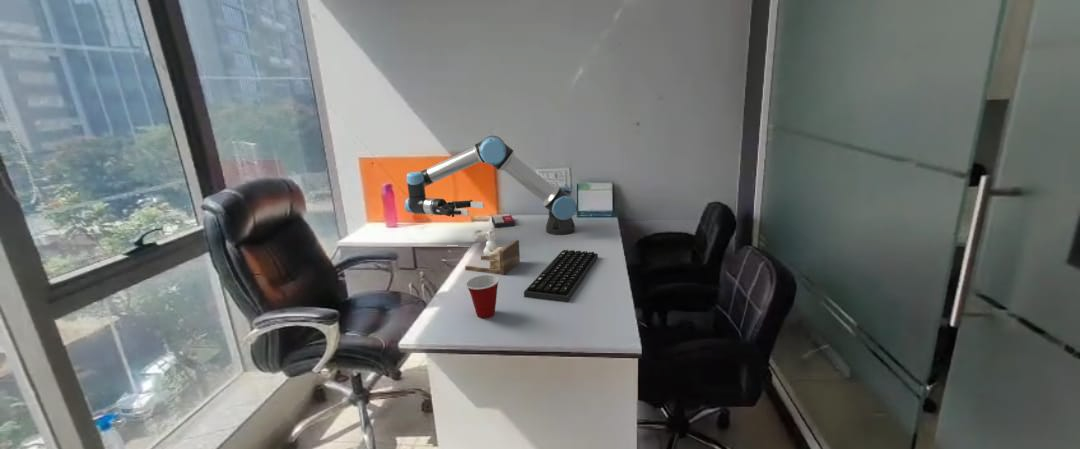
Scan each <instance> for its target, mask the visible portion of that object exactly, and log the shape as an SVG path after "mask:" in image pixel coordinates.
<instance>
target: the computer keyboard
mask: <svg viewBox="0 0 1080 449" xmlns="http://www.w3.org/2000/svg"><path fill="white" fill-rule="evenodd" d="M598 258H599V254H598V253H597V252H596V253H595V252H594V251H589V252H588V251H587V250H583V251H582V250H575V249H574V250H573V249H571V250H569V249H563V250H562V251H561V252H560V253H558V254H557V255H556V257H555V258H554V259H553V260H552V261H551V262H550V263H549V264H548V265H547V267H546V268H545V269H544V270H542V272H541V273H540V274H539V275H538V276H537V277H536V278H535V279H534V280H533V282H531V283H530V284H529V286H528V287H527V288H526V289H525V290H524V291H523V298H528V299H536V300H546V301H550V302H551V301H553V302H561V303H569V301H570V300H571V298H572V297H573V295H574V294H575V292H576V291H577V289H578V288H579V286H580V285H581V284H582V282H583V280H584V279H585V278H586V276H587V274H589V272H590V271H591V269H592V268H593V266H595V263H596V261H597V260H599V259H598Z"/></svg>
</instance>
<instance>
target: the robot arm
mask: <svg viewBox="0 0 1080 449" xmlns="http://www.w3.org/2000/svg"><path fill="white" fill-rule="evenodd" d="M478 163H482V164H483V163H486V164H487V165H491V166H492V167H493V168H494V169H496V170H497V171H503V172H505V174H507V175H509V176H510V177H511V178H512V179H513V180H515V181H517V182H518V183H519V184H520V185H522V186H523V187H524V188H525V189H527V190H528V191H529V192H531V193H532V194H533V195H534V196H535V197H537V199H539V200H540V201H542V206H543V207H545V208H546V209H547V210H548V218H547V223H546V225H545V232H546V233H548V234H550V235H560V236H561V235H568V234H573V233H574V232H575V231H576V225H575V223H574V220H573V216H574V215H575V213H576V211H577V203H576V200H575V198H573V196H572V188H571V187H570V186H553V185H552V184H551V183H549V182H548V181H547V180H546V179H544V178H543V177H542V176H541V175H539V173H537V172H536V171H534V170H533V169H532V168H531V167H530V166H528V165H527V164H526V163H525V162H523V161H522V160H521V159H519V158H518V157H517V156H516V155H515V150H513V149H512V148H511V147H510V146H509V145H508V144H506V143H505V140H503V139H502V138H501V137H499V136H497V135H489V136H487V137H486V138H484V139H483V140H481V141H480V142H477V143H474V145H473V147H471V148H469V149H467V150H465V151H462V152H460V153H458V154H456V155H454V156H451V157H450V158H447V159H445V160H443V161H441V162H438V163H436V164H434V165H432V166H430V167H428V168H426V169H423V170H421V171H412V172H411V171H410V172H407V174H406V183H407V184H406V185H407V190H408V198H406V199H405V201H404V208H405V211H406V212H407V213H408V214H415V215H430V216H433V215H435V216H446V217H452V218H454V217H455V216H463V217H465V216H466V217H469V215H470V214H469V209H467V208H471V209H484V208H485V204H484V201H473V200H472V199H470V200H460V201H459V200H458V201H455V200H452V201H448V202H447V200H446V199H443V198H428V197H426V189H425V188H426V187H427V186H430V185H432V184H434V183H436V182H438V181H441V180H444V179H446V177H450V176H452V175H454V174H455V173H459V172H460V171H463V170H465V169H467V168H469V167H471V166H474V165H476V164H478Z"/></svg>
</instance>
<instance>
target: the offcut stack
mask: <svg viewBox="0 0 1080 449" xmlns="http://www.w3.org/2000/svg"><path fill="white" fill-rule="evenodd" d="M504 247H505V246H503V247H502V246H497V249H496V250H494V251H493V252H492V253H491V254H490V260H489V264H490V265H489V268H490V269H498V270H500V257H499V251H500V250H501V249H503V248H504Z"/></svg>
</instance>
